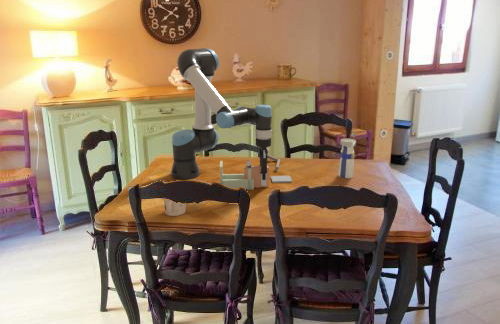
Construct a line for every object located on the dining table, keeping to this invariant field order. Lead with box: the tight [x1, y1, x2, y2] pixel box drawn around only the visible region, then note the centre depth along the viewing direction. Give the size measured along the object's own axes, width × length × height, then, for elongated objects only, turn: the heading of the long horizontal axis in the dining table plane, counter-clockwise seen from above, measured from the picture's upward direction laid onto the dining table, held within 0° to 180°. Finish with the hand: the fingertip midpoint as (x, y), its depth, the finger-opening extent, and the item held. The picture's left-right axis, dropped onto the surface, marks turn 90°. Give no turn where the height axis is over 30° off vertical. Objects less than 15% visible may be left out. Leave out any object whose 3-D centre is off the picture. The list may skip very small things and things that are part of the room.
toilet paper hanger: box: [266, 147, 281, 172], centre depth 236 cm, size 23×9×8 cm, turn 171°
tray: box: [270, 175, 293, 184], centre depth 212 cm, size 10×8×1 cm
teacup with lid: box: [163, 198, 187, 217], centre depth 171 cm, size 12×9×12 cm
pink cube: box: [243, 165, 270, 188], centre depth 202 cm, size 12×4×10 cm, turn 93°
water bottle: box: [337, 131, 357, 179], centre depth 214 cm, size 8×9×25 cm
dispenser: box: [219, 159, 255, 191], centre depth 201 cm, size 16×9×12 cm, turn 93°
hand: (263, 183), depth 203 cm, fingers open, 4 cm apart
